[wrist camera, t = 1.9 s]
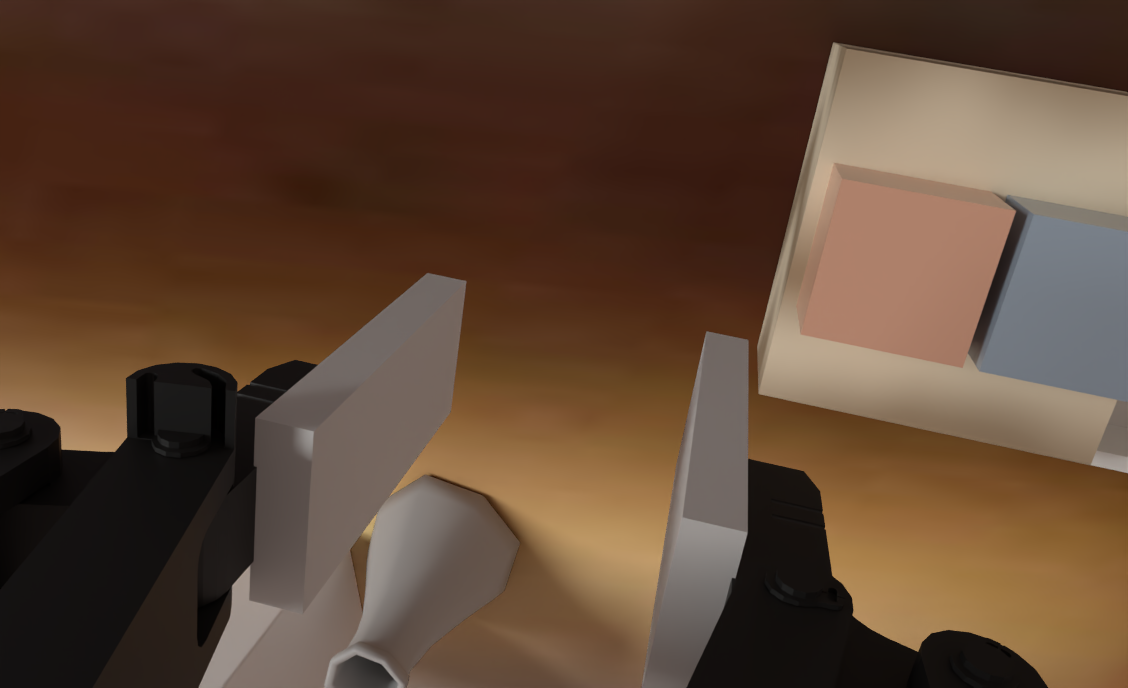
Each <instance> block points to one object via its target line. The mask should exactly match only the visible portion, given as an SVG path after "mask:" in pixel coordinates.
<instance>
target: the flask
mask: <svg viewBox="0 0 1128 688" xmlns="http://www.w3.org/2000/svg"><path fill="white" fill-rule="evenodd" d="M519 545H520V542H519V541H518V539H517V538H516V537H515V536H514V534H513V533H512V532H511V530H510V529H509V528H508V527H507V525H506V524H505V523H504V522H503V520H502V519H501V518H500V516H499V515H498V514H497V513H496V511H495V510H494V509H493V507H492V506H491V505H490V504H489V502H488V501H487V500H486V499H485V497H484V496H483V495H480V494H477V493H475V492H472V491H469V490H466V489H464V488H461V487H458V486H455V485H453V484H450V483H447V482H444V481H442V480H439V479H436V478H433V477H431V476H428V475H424V476H422V477H420V478H419V479H417V480H415V481H414V482H412V483H411V484H409V485H407V486H406V487H404V488H403V489H401V490H399V491H398V492H396V493H394V494H393V495H391V496H390V497H388V498H387V500H386V501H385V502H384V504H383V505H382V507H381V508H380V509H379V511H378V513H377V517H376V521H375V525H374V529H373V533H372V537H371V541H370V545H369V549H368V555H367V568H366V589H365V598H364V606H363V615H362V618H361V621H360V624H359V627H358V630H357V632H356V634H355V636H354V637H353V639H352V641H351V642H350V644H349V646H348V647H347V648H346V649H344V650H342V651H340V652H339V653H337V654H335V655H334V656H333V657H332V658H331V660H330V663H329V667H328V671H327V675H326V679H325V683H324V687H325V688H407V684H408V681H409V673H410V671H411V669H412V668H413V667H414V666H415V665H416V663H417V662H418V661H419V660H420V659H421V658H422V656H423V655H424V654H425V653H426V652H427V650H428V649H429V648H430V647H431V646H432V645H433V644H434V643H435V642H437V641H438V640H439V639H441V638H442V637H443V636H444V635H446V634H447V633H448V632H449V631H451V630H452V629H453V628H455V627H456V626H457V625H458V624H460V623H461V622H462V621H463V620H465V619H466V618H467V617H469V616H470V615H472V614H473V613H475V612H476V611H477V610H479V609H480V608H482V607H483V606H484V605H486V604H487V603H489V602H490V601H492V600H493V599H494V598H496V597H497V596H498V595H500V594H501V593H502V592H503V591H504V590H505V587H506V584H507V581H508V578H509V575H510V572H511V569H512V566H513V563H514V560H515V557H516V554H517V551H518V548H519Z"/></svg>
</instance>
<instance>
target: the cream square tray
mask: <svg viewBox="0 0 1128 688" xmlns="http://www.w3.org/2000/svg"><path fill="white" fill-rule="evenodd" d="M833 163H839V164H844V165H850V166H855V167H861V168H866V169H872V170H877V171H882V172H888V173H893V174H899V175H904V176H910V177H915V178H920V179H926V180H931V181H937V182H942V183H948V184H953V185H959V186H964V187H969V188H975V189H980V190H986V191H991V192H993V193H994V194H995V195H996V196H998V197H999V198H1000V199H1001V200H1003V201H1004V202H1005V200H1006V197H1007V195H1013V196H1018V197H1024V198H1029V199H1035V200H1040V201H1046V202H1051V203H1056V204H1062V205H1067V206H1073V207H1078V208H1084V209H1089V210H1094V211H1100V212H1105V213H1111V214H1116V215H1122V216H1127V217H1128V92H1124V91H1118V90H1113V89H1107V88H1101V87H1095V86H1089V85H1083V84H1077V83H1071V82H1065V81H1059V80H1053V79H1047V78H1041V77H1036V76H1030V75H1024V74H1018V73H1012V72H1006V71H1000V70H994V69H988V68H982V67H976V66H970V65H964V64H959V63H953V62H947V61H941V60H935V59H929V58H923V57H917V56H911V55H905V54H899V53H893V52H887V51H882V50H876V49H870V48H864V47H858V46H852V45H846V44H840V43H834V42H833V45H832V49H831V53H830V57H829V61H828V65H827V69H826V73H825V77H824V81H823V85H822V89H821V93H820V97H819V101H818V105H817V109H816V113H815V117H814V121H813V125H812V129H811V134H810V138H809V142H808V146H807V150H806V154H805V158H804V162H803V166H802V170H801V174H800V178H799V182H798V186H797V190H796V194H795V198H794V202H793V206H792V210H791V214H790V218H789V222H788V226H787V230H786V234H785V238H784V242H783V246H782V250H781V254H780V258H779V262H778V266H777V270H776V274H775V278H774V282H773V286H772V290H771V294H770V298H769V302H768V306H767V310H766V314H765V318H764V322H763V326H762V330H761V334H760V338H759V342H758V346H757V349H758V392H759V394H761V395H766V396H771V397H775V398H780V399H785V400H789V401H794V402H799V403H803V404H808V405H813V406H817V407H822V408H827V409H831V410H836V411H840V412H845V413H850V414H854V415H859V416H864V417H868V418H873V419H878V420H882V421H887V422H892V423H896V424H901V425H906V426H910V427H915V428H919V429H924V430H929V431H933V432H938V433H943V434H947V435H952V436H957V437H961V438H966V439H971V440H975V441H980V442H985V443H989V444H994V445H999V446H1003V447H1008V448H1012V449H1017V450H1022V451H1026V452H1031V453H1036V454H1040V455H1045V456H1050V457H1054V458H1059V459H1064V460H1068V461H1073V462H1078V463H1082V464H1087V465H1091V463H1092V460H1093V458H1094V456H1095V453H1096V451H1097V448H1098V446H1099V443H1100V441H1101V439H1102V436H1103V434H1104V431H1105V429H1106V427H1107V424H1108V422H1109V419H1110V417H1111V415H1112V412H1113V410H1114V407H1115V405H1116V402H1117V400H1115V399H1110V398H1106V397H1101V396H1096V395H1091V394H1086V393H1081V392H1077V391H1072V390H1067V389H1062V388H1057V387H1052V386H1047V385H1043V384H1038V383H1033V382H1028V381H1023V380H1018V379H1014V378H1009V377H1004V376H999V375H994V374H989V373H985V372H980V371H979V370H978V369H977V367H976V365H975V364H974V362H973V361H972V359H971V357H970V356H969V354H967V357H966V360H965V363H964V365H963V368H960V367H955V366H951V365H946V364H941V363H936V362H931V361H926V360H922V359H917V358H912V357H907V356H902V355H897V354H892V353H888V352H883V351H878V350H873V349H868V348H863V347H859V346H854V345H849V344H844V343H839V342H834V341H830V340H825V339H820V338H815V337H810V336H805V335H801V334H800V327H799V321H798V314H797V308H796V305H797V301H798V297H799V293H800V289H801V286H802V282H803V278H804V274H805V270H806V266H807V263H808V259H809V255H810V251H811V247H812V244H813V240H814V236H815V232H816V228H817V224H818V221H819V217H820V213H821V209H822V205H823V201H824V198H825V194H826V190H827V186H828V182H829V178H830V175H831V171H832V167H833Z"/></svg>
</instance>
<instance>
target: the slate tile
mask: <svg viewBox="0 0 1128 688" xmlns="http://www.w3.org/2000/svg"><path fill="white" fill-rule="evenodd" d="M1005 203H1007V204H1008V205H1009V206H1010V207H1012V208H1013V209H1014V210H1016V213H1015V216H1014V219H1013V222H1012V225H1011V228H1010V230H1009V233H1008V236H1007V239H1006V242H1005V245H1004V248H1003V251H1002V254H1001V257H1000V260H999V263H998V266H997V269H996V272H995V274H994V277H993V280H992V283H991V286H990V289H989V292H988V295H987V298H986V301H985V304H984V307H983V310H982V313H981V316H980V319H979V321H978V324H977V327H976V330H975V333H974V336H973V339H972V342H971V345H970V348H969V351H968V354H969V356H970V357H971V359H972V361H973V362H974V364H975V365H976V367H977V369H978V370H979V371H980V372H985V373H989V374H994V375H999V376H1004V377H1009V378H1014V379H1018V380H1023V381H1028V382H1033V383H1038V384H1043V385H1047V386H1052V387H1057V388H1062V389H1067V390H1072V391H1077V392H1081V393H1086V394H1091V395H1096V396H1101V397H1106V398H1110V399H1115V400H1120V401H1125V402H1128V217H1127V216H1122V215H1116V214H1111V213H1105V212H1100V211H1094V210H1089V209H1084V208H1078V207H1073V206H1067V205H1062V204H1056V203H1051V202H1046V201H1040V200H1035V199H1029V198H1024V197H1018V196H1013V195H1007V197H1006V200H1005Z"/></svg>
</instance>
